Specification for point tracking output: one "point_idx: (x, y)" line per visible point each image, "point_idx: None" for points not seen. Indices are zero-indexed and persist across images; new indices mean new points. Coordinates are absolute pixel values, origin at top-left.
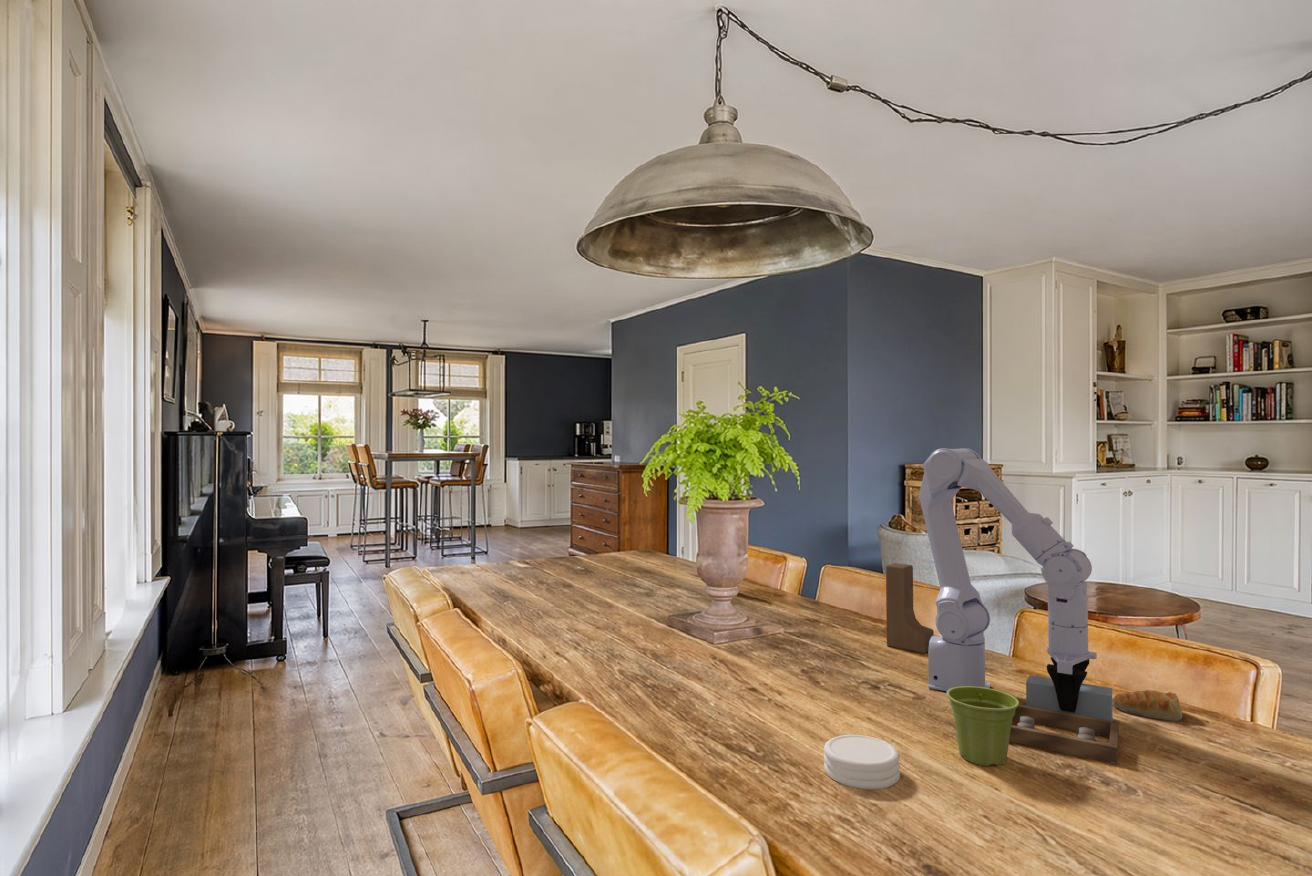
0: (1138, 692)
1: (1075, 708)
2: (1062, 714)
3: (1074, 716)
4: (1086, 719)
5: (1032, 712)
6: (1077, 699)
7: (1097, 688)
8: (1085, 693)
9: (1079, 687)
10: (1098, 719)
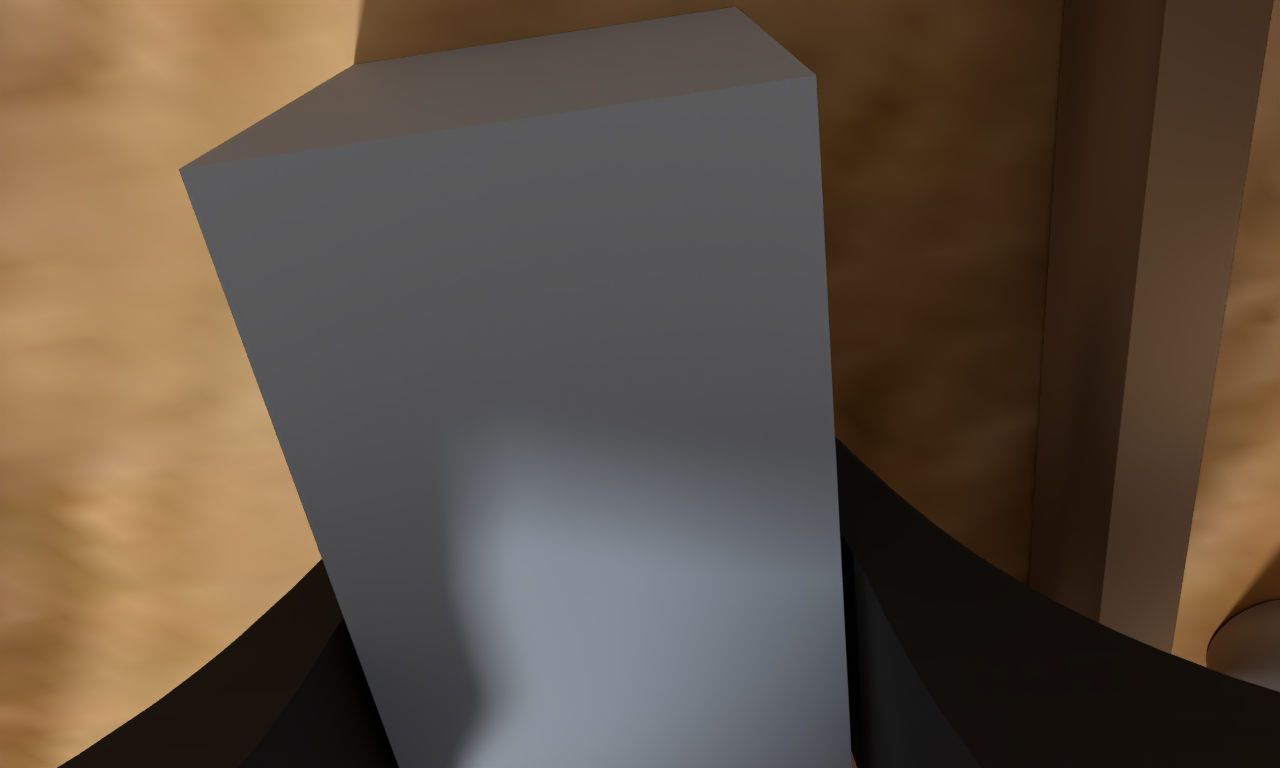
0: None
1: (852, 457)
2: (1188, 519)
3: (1205, 404)
4: (1218, 269)
5: None
6: (915, 510)
7: (455, 387)
8: (834, 483)
9: (1095, 624)
10: (1189, 136)
